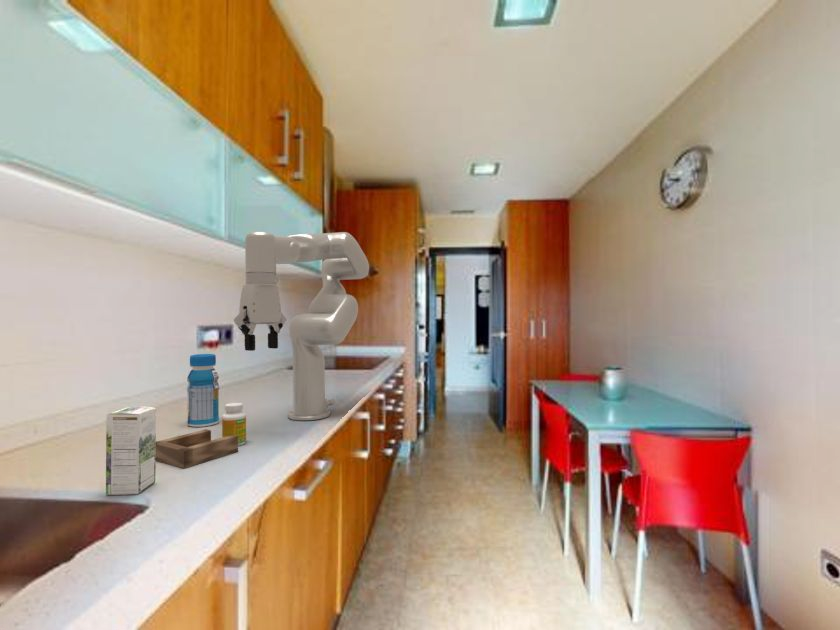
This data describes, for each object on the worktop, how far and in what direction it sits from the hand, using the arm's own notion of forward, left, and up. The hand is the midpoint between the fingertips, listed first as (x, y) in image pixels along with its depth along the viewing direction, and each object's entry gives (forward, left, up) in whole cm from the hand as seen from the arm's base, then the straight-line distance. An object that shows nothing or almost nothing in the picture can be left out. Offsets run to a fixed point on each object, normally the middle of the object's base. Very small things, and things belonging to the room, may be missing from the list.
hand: (261, 348), depth 116 cm
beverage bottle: (0, -25, -23) cm, 34 cm away
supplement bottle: (+9, 0, -23) cm, 24 cm away
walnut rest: (+19, 0, -23) cm, 29 cm away
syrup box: (+36, +8, -23) cm, 43 cm away
